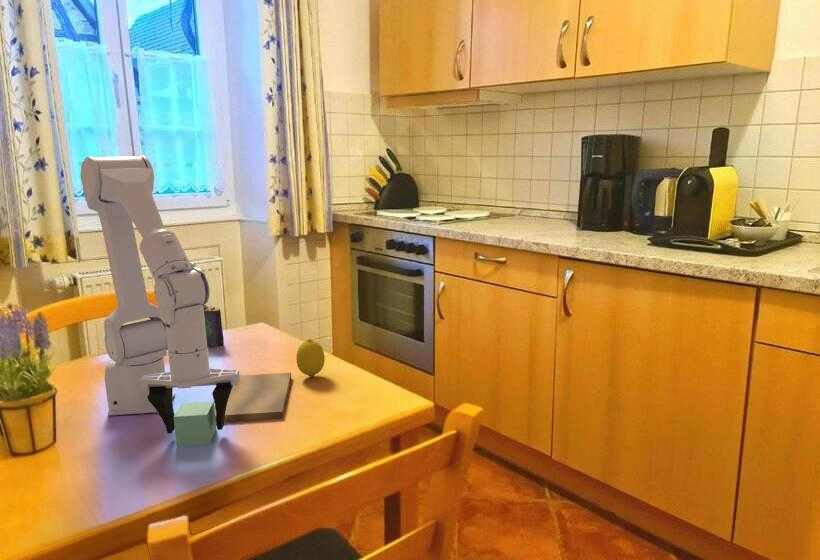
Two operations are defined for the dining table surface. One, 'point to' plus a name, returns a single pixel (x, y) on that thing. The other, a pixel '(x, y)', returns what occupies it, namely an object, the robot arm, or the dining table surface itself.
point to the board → (258, 397)
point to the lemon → (310, 358)
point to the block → (195, 423)
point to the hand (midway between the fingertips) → (196, 428)
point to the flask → (213, 327)
